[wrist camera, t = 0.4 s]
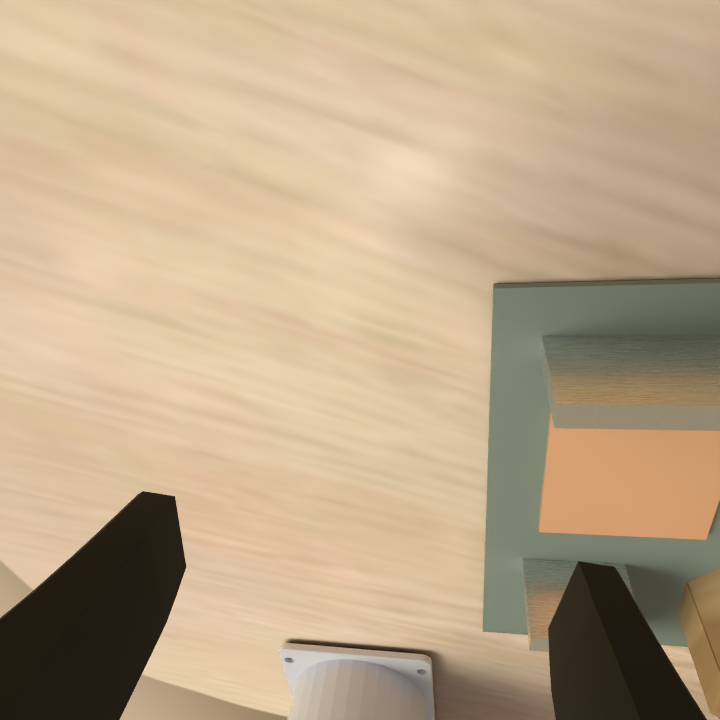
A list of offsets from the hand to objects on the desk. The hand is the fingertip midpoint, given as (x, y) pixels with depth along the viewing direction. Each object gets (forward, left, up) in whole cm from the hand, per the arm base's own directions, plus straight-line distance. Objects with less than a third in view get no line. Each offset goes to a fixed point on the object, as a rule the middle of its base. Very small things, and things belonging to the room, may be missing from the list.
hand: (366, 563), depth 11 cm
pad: (-7, -8, -10) cm, 14 cm away
